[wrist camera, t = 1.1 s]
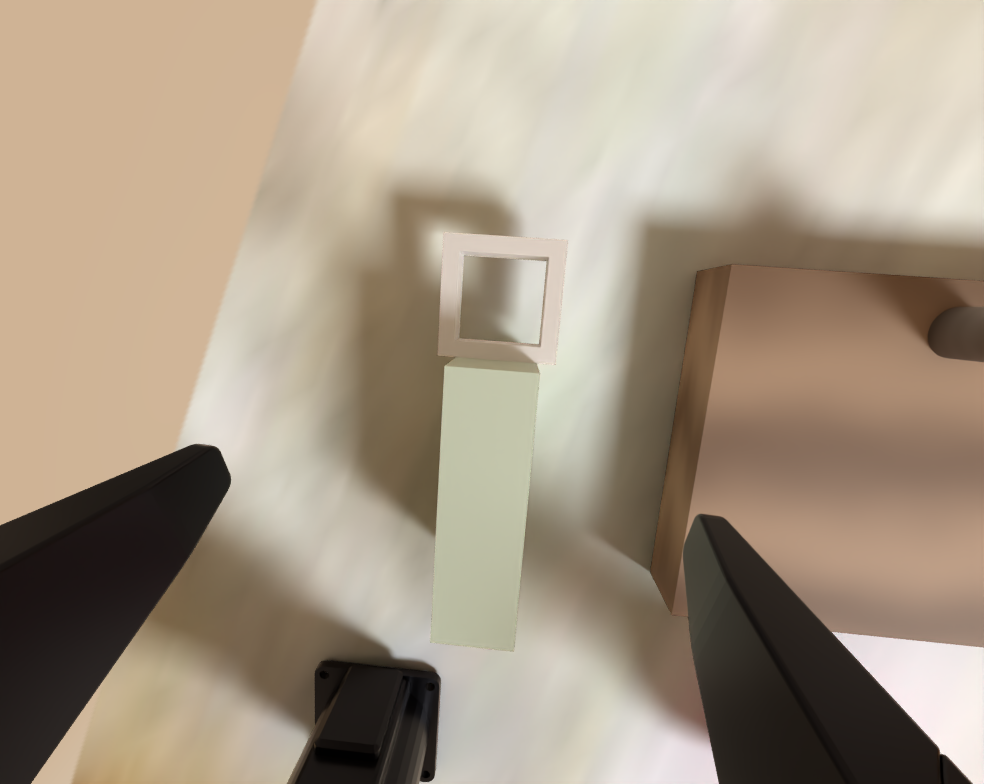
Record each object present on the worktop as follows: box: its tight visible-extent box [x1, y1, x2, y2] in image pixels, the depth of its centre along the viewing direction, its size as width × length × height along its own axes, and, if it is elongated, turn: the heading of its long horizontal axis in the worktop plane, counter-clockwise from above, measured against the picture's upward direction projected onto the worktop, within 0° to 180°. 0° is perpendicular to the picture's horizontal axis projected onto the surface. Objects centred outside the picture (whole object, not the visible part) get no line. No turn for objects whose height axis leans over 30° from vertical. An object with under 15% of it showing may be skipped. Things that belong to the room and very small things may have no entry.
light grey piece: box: [430, 232, 568, 652], centre depth 17 cm, size 14×4×6 cm, turn 176°
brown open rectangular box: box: [650, 264, 984, 647], centre depth 16 cm, size 14×16×8 cm
